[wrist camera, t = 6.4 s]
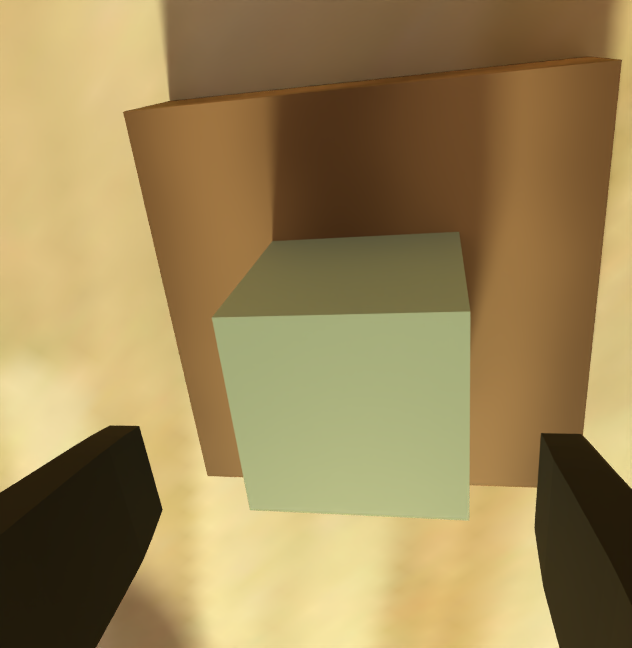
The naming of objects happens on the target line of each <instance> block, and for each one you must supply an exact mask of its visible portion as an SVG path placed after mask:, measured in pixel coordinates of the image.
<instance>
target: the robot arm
mask: <svg viewBox="0 0 632 648" xmlns="http://www.w3.org/2000/svg"><path fill="white" fill-rule="evenodd" d="M162 510H163V509H162V506H161V502H160V499H159V495H158V492H157V488H156V485H155V481H154V477H153V474H152V470H151V467H150V463H149V460H148V456H147V452H146V449H145V445H144V442H143V438H142V435H141V431H140V427H139V426H108V427H106V428H105V429H103V430H101V431H99V432H97V433H95V434H93V435H92V436H90V437H88V438H87V439H85V440H83V441H82V442H80V443H78V444H77V445H75V446H74V447H72V448H70V449H69V450H67V451H66V452H64V453H62V454H61V455H59V456H58V457H56V458H54V459H53V460H51V461H50V462H48V463H47V464H45V465H43V466H42V467H40V468H39V469H37V470H36V471H34V472H32V473H31V474H29V475H28V476H26V477H24V478H23V479H21V480H20V481H18V482H17V483H15V484H13V485H12V486H10V487H9V488H7V489H5V490H4V491H2V492H1V493H0V648H96V646H97V645H98V643H99V641H100V639H101V637H102V635H103V634H104V632H105V630H106V628H107V626H108V624H109V623H110V621H111V619H112V617H113V615H114V614H115V612H116V610H117V608H118V606H119V604H120V603H121V601H122V599H123V597H124V595H125V593H126V592H127V590H128V588H129V586H130V584H131V582H132V580H133V578H134V577H135V575H136V573H137V571H138V569H139V567H140V565H141V563H142V561H143V559H144V557H145V554H146V552H147V550H148V547H149V545H150V542H151V540H152V537H153V535H154V532H155V529H156V526H157V523H158V521H159V518H160V515H161V512H162ZM535 535H536V542H537V549H538V555H539V562H540V569H541V575H542V581H543V587H544V591H545V595H546V599H547V603H548V606H549V610H550V614H551V618H552V622H553V625H554V629H555V633H556V637H557V640H558V644H559V648H632V489H631V488H630V487H629V486H628V485H627V483H626V482H625V481H624V480H623V479H622V478H621V477H620V476H619V475H618V474H617V473H616V472H615V470H614V469H613V468H612V467H611V466H610V465H609V464H608V463H607V462H606V460H605V459H604V458H603V457H602V456H601V455H600V454H599V453H598V451H597V450H596V449H595V448H594V447H593V446H592V445H591V444H590V443H589V441H588V440H587V439H586V438H585V437H584V436H583V435H582V434H566V433H541V438H540V453H539V468H538V483H537V498H536V513H535Z"/></svg>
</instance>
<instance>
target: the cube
mask: <svg viewBox="0 0 632 648" xmlns="http://www.w3.org/2000/svg"><path fill="white" fill-rule="evenodd" d="M212 321H213V326H214V331H215V336H216V342H217V347H218V352H219V357H220V362H221V367H222V372H223V377H224V382H225V387H226V392H227V397H228V402H229V407H230V412H231V417H232V422H233V427H234V432H235V437H236V442H237V447H238V452H239V457H240V462H241V467H242V472H243V477H244V482H245V487H246V492H247V497H248V502H249V507H250V510H258V511H279V512H300V513H321V514H342V515H363V516H384V517H405V518H426V519H448V520H469V475H470V305H469V298H468V291H467V284H466V277H465V270H464V263H463V256H462V249H461V242H460V235H459V232H444V233H424V234H405V235H385V236H365V237H345V238H326V239H306V240H286V241H272V242H271V244H270V245H269V246H268V247H267V249H266V250H265V251H264V252H263V254H262V255H261V256H260V257H259V259H258V260H257V261H256V263H255V264H254V265H253V266H252V268H251V269H250V270H249V271H248V273H247V274H246V275H245V276H244V278H243V279H242V280H241V281H240V283H239V284H238V285H237V286H236V288H235V289H234V290H233V291H232V293H231V294H230V295H229V296H228V298H227V299H226V300H225V302H224V303H223V304H222V305H221V307H220V308H219V309H218V310H217V312H216V313H215V314H214V315H213V317H212Z"/></svg>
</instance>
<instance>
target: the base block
mask: <svg viewBox="0 0 632 648" xmlns="http://www.w3.org/2000/svg"><path fill="white" fill-rule="evenodd" d="M621 62H622V60H617V59H608V58H598V57H581V58H571V59H562V60H552V61H543V62H534V63H524V64H515V65H505V66H496V67H487V68H477V69H468V70H458V71H449V72H440V73H430V74H421V75H411V76H402V77H392V78H383V79H374V80H364V81H355V82H345V83H336V84H327V85H317V86H308V87H298V88H289V89H280V90H270V91H261V92H251V93H242V94H233V95H223V96H214V97H204V98H195V99H185V100H176V101H168V102H164V103H159V104H155V105H151V106H146V107H142V108H138V109H133V110H129V111H125V112H123V113H124V117H125V122H126V126H127V130H128V135H129V139H130V143H131V147H132V152H133V156H134V160H135V165H136V169H137V173H138V178H139V182H140V186H141V191H142V195H143V199H144V204H145V208H146V212H147V217H148V221H149V225H150V229H151V234H152V238H153V242H154V247H155V251H156V255H157V260H158V264H159V268H160V273H161V277H162V281H163V286H164V290H165V294H166V298H167V303H168V307H169V311H170V316H171V320H172V324H173V329H174V333H175V337H176V342H177V346H178V350H179V355H180V359H181V363H182V368H183V372H184V376H185V380H186V385H187V389H188V393H189V398H190V402H191V406H192V411H193V415H194V419H195V424H196V428H197V432H198V437H199V441H200V445H201V450H202V454H203V458H204V462H205V467H206V471H207V475H208V476H224V477H243V472H242V467H241V462H240V457H239V452H238V447H237V442H236V437H235V432H234V427H233V422H232V417H231V412H230V407H229V402H228V397H227V392H226V387H225V382H224V377H223V372H222V367H221V362H220V357H219V352H218V347H217V342H216V336H215V331H214V326H213V321H212V317H213V315H214V314H215V313H216V312H217V310H218V309H219V308H220V307H221V305H222V304H223V303H224V302H225V300H226V299H227V298H228V296H229V295H230V294H231V293H232V291H233V290H234V289H235V288H236V286H237V285H238V284H239V283H240V281H241V280H242V279H243V278H244V276H245V275H246V274H247V273H248V271H249V270H250V269H251V268H252V266H253V265H254V264H255V263H256V261H257V260H258V259H259V257H260V256H261V255H262V254H263V252H264V251H265V250H266V249H267V247H268V246H269V245H270V244H271V242H272V241H286V240H306V239H326V238H345V237H365V236H385V235H405V234H424V233H444V232H459V235H460V242H461V249H462V256H463V263H464V270H465V277H466V284H467V291H468V298H469V305H470V475H469V485H480V486H508V487H537V483H538V468H539V453H540V438H541V433H566V434H582V435H583V428H584V419H585V409H586V399H587V390H588V380H589V370H590V361H591V351H592V342H593V332H594V322H595V313H596V303H597V293H598V284H599V274H600V265H601V255H602V245H603V236H604V226H605V216H606V207H607V197H608V187H609V178H610V168H611V159H612V149H613V139H614V130H615V120H616V110H617V101H618V91H619V81H620V72H621Z"/></svg>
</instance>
